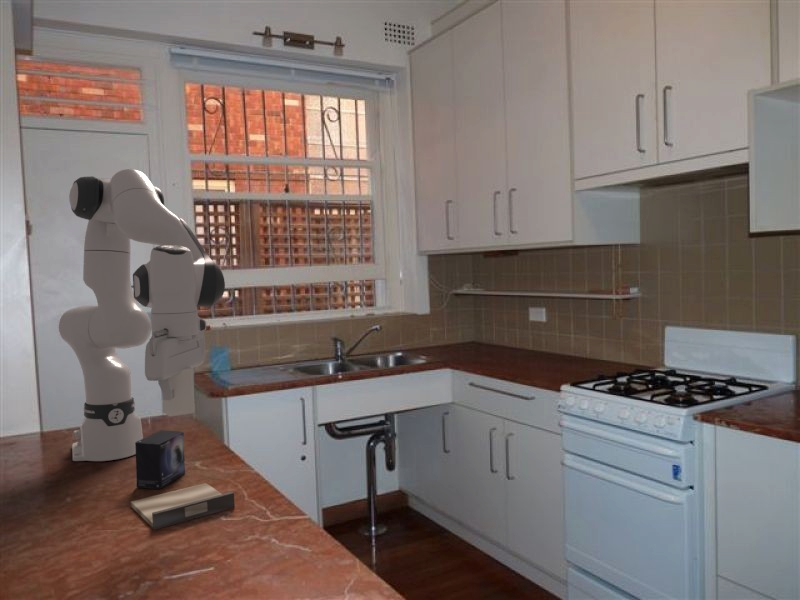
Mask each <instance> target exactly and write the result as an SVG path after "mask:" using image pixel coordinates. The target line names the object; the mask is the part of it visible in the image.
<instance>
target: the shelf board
mask: <svg viewBox="0 0 800 600" xmlns="http://www.w3.org/2000/svg"><path fill="white" fill-rule="evenodd" d="M130 507H131V508H132V510H134V511H135V512H136V513H137V514H138V515H139V516H140V517H141V518H142V519H143V520H144V521H145V522H146V523H147V524H148V525H149V526H150V527H151V528H152V530H159V529H162V528H166V527H169V526H173V525H177V524H181V523H184V522H188V521H191V520H194V518H195V519H198V518H201V517H205V516H208V515H211V514H216V513H219V511H220V512H223V511H227V510H230V509H234V508H235V492H233V491H229V492H225V493H221V492H220V491H218V490H217V489H216V488H214V487H213V486H211V485H210V484H208V483H207V482H204V483H200V484H196V485H192V486H189V487H184V488H180V489H179V488H178V489H177V490H172V491H167V492H164V493H160V494H156V495H152V496H148V497H144V498H140V499H135V500H132V501H130ZM187 520H188V521H187Z"/></svg>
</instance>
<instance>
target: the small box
mask: <svg viewBox="0 0 800 600" xmlns="http://www.w3.org/2000/svg"><path fill="white" fill-rule="evenodd" d="M184 433H185V432H184V431H178V430H177V431H175V430H164V429H160V430H159V431H156V432H154V433H152V434H151V435H148V436H146V437H143V439H141V440H139V441H137V442H135V449H136V454H135V471H136V474H135V475H136V488H139V489H141V488H142V489H154V490H162V489H163V488H165V487H166V486H168V485H169V484H172V483H173V482H174V481H176V480H177V479H179V478H181V477H182V476H184V475H185V474H186V464H185V435H184Z"/></svg>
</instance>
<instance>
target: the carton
mask: <svg viewBox="0 0 800 600" xmlns="http://www.w3.org/2000/svg"><path fill="white" fill-rule="evenodd" d="M171 386H172V389H174V398H172V399H171V400H164V399H163V397H162V396H161V397H162V412H163V413H164V414H165V415H166V416H168V417H177V416H184V415H190V414H195V413H196V406H195V405H196V394H195V393H196V391H195V373H194V374H193V368H191V367H187V368H185V369H183V370H182V371H181V373H180V374H177V375H175V376H173V377H172V382H171Z"/></svg>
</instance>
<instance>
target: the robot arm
mask: <svg viewBox="0 0 800 600" xmlns="http://www.w3.org/2000/svg"><path fill="white" fill-rule="evenodd" d="M73 181H74V182H73V183H72V186H71V188H70V191H69V194H68V199H69V204H70V208H71V211H72V212H73V214H74V215H75V216H76V217H78V218H81V219H84V220H87V221H88V222H87V226H86V231H85V237H84V246H83V247H84V248H83V268H82V269H83V271H82V275H83V276H82V278H83V283H84V284H85V286H87V287H88V288H89V289H90V290H92V292H93V293H94V296H95V299H96V301H97V305H81V306H78V307H73V308H70V309H68V310H66V311H64V313H63V314H62V315H61V317H60V319H59V321H58V332H59V336H60V337H61V339H62V340H63V341H64V342H66V343H67V344H68V345H69V347H70V348H71V349H72V350H73V352H74V354H75V356H76V358H77V359H78V362H79V364H80V368H81V370H82V374H83V375H82V376H83V383H84V392H85V394H84V395H85V402H84V405H83V416H84V418H83V420H82V421H81V424H80V429H76V430H73V440H79V439H80V441H76V442H73V443H72V446H71V454H72V455H71V456H72V461H73V462H85V461H88V462H106V461H113V460H120V459H124V458H128V457H131V456H134V455H136V449H135V442H137V441H139V440H141V439H144V435H143V428H142V427H143V426H142V421H141V420H142V419H141V417H139V415H137V414H136V413H135V410H136V408H135V405H136V404H135V400H134V399H135V398H134V397H133V393H132V376H131V375H132V374H131V373H132V372H131V369H130V367H129V366H128V365H127V364H126V363H125V362H124V361H122V359H121V358H120V357H119V356H118V353H117V351H116V349H122V350H123V349H124V350H125V349H129V348H135V347H140V346H142V345H144V344H145V343H146V345H145V351H144V376H145V378H146V380H147V381H153V382H154V381H156V382H157V381H158V386H159V387H160V390H161V393H162V394H161V397H163V399H164V400H171V399H172V398H174V389H172V386H171V382H172V377H173V376H175V375H177V374H180V373H181V371H182V370H183V369H185V368H187V367H191V368H193V374H194V375H195V368H196V367H198V366H200V365H203V364H204V361H205V358H206V336H205V335H206V334H205V331H206V330H207V321H206V319H203V318H201V317H200V316H199V315H198V314H199V313H198V307H201V308H203V307H204V308H211V307H213V306H214V305H215V304H216V303H217V302H218V301H219V300H220V299H221V298H222V297H223V295H224V293H225V289H226V283H225V277H224V274H223V271H222V270H221V268H220V266H218V265H217V264H216V263H215V262H214V260H212V258H211V257H210V256H209V255H208V254H207V251H206V250H205V249H204V247H203V246H202V244H201V242H200V241H199V240H198V238H197V236H196V235H195V234H194V232H193V230H192V229H191V228H190V226H189V224H188V223H187V222H186V221H185V220H184V219H183V218H181V217H180V216H178V215H176V214H175V213H173V212H172V211H170V210H169V209H168V207H166V206H165V198H164V197H165V196H164V194H163V192H162V191H161V189H160V188H159V187H157V186H154V184H153V183H152V182H151V180H150V178H148V176H147V175H146V174H145V173H144V172H142V171H140V170H138V169H134V168H125V169H122V170H119V171H117V172H116V173H115V174H113V176H112V177H111V178H107V177H106V178H105V177H95V176H81V177H79V178H77V179H76V180H73ZM131 240H133V241H135V242H139V243H142V244H143V243H144V244H151V245H156V246H155V247H153V248H152V249H151V251H150V255H149V257H150V259H149V261H148V262H147V263H143V264H142V265H140V266H139V267H138V268H137V269H136V270H134V272H133V274H132V281H131ZM132 285H133V287H132ZM139 304H140V305H141V306H142V307H146V308H150V316H149V314H148V313H147V312H146V311H145V310H144V309H143V308H142V307H141V306H140V305H139ZM148 339H149V341H148ZM147 341H148V342H147ZM163 399H162V400H163Z"/></svg>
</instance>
